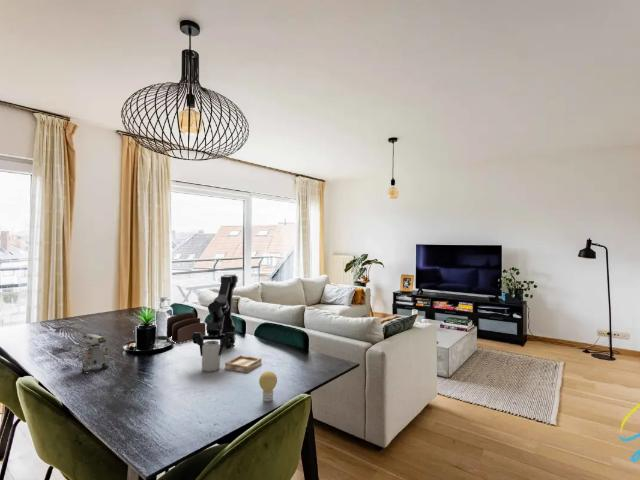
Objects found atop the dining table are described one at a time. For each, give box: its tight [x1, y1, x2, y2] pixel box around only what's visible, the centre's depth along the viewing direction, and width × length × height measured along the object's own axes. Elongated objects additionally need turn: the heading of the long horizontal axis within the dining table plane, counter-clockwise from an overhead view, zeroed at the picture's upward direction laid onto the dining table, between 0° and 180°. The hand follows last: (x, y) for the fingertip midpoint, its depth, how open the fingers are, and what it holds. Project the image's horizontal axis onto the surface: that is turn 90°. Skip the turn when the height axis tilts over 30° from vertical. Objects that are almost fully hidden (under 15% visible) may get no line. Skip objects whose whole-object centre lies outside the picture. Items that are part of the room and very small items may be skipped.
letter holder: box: [166, 311, 207, 344], centre depth 200 cm, size 10×20×14 cm, turn 151°
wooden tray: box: [224, 355, 262, 373], centre depth 155 cm, size 12×12×2 cm
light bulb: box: [258, 371, 278, 403], centre depth 122 cm, size 6×6×10 cm
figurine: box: [76, 333, 109, 373], centre depth 150 cm, size 9×12×15 cm
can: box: [201, 340, 221, 373], centre depth 151 cm, size 8×8×12 cm
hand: (210, 355), depth 150 cm, fingers closed on can, 7 cm apart
